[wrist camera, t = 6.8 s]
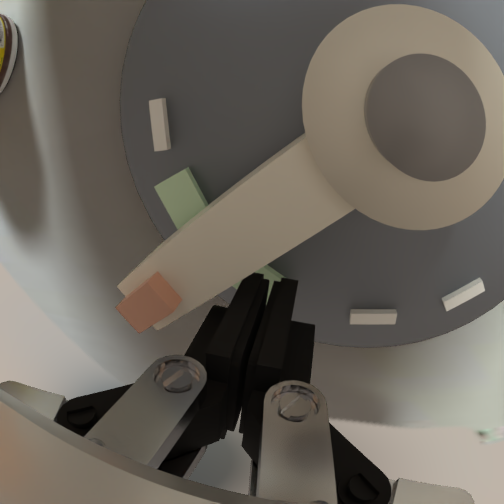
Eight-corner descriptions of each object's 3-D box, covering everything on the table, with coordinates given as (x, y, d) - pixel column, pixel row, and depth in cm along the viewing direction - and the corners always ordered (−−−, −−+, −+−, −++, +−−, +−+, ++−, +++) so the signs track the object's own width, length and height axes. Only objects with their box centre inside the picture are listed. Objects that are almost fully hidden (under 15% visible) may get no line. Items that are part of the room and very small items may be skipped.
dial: (71, 72, 11) (49, 72, 10) (408, -125, 4) (414, -141, 3) (291, 378, 15) (288, 400, 14) (592, 219, 8) (609, 231, 7)
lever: (398, 13, 7) (441, -37, 3) (481, 142, 8) (556, 169, 4) (138, 210, 11) (67, 259, 8) (219, 306, 12) (181, 382, 9)
